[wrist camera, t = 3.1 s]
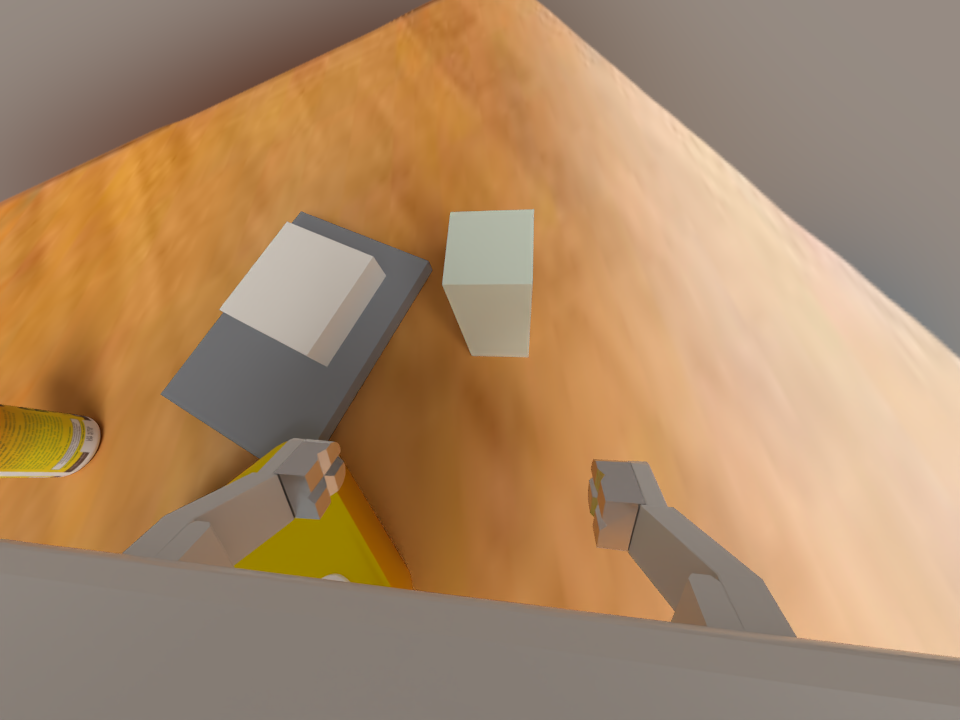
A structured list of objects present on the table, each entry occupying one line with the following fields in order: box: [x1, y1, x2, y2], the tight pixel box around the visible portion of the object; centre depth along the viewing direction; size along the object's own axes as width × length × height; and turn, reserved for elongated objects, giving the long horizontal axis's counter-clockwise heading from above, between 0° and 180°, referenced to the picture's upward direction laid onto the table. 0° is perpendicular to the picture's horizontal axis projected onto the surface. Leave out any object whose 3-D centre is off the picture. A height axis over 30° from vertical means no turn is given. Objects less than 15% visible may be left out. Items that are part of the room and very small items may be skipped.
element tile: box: [225, 441, 413, 590], centre depth 24 cm, size 15×15×5 cm
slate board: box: [161, 212, 432, 459], centre depth 31 cm, size 22×16×4 cm
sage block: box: [442, 209, 534, 357], centre depth 25 cm, size 5×5×12 cm
